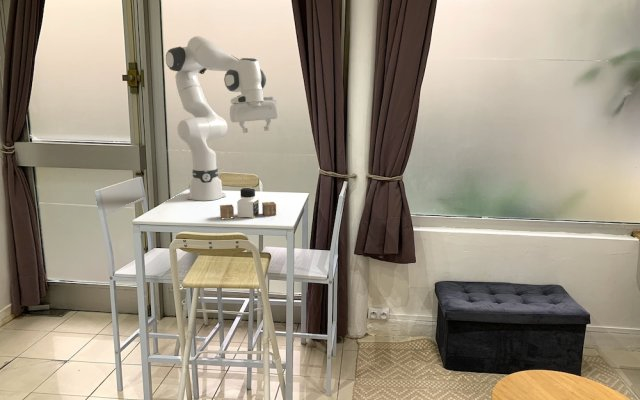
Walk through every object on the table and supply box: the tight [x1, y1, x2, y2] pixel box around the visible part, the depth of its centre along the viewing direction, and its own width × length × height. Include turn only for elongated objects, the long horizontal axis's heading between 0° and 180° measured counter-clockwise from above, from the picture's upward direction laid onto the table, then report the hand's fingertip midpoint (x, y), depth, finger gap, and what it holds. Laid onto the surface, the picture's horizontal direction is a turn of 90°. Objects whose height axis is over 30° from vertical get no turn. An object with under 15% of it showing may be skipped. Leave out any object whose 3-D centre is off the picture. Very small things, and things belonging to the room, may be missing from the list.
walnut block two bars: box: [261, 201, 277, 217], centre depth 230 cm, size 5×5×5 cm
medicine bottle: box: [236, 187, 260, 219], centre depth 227 cm, size 7×7×12 cm
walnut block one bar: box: [219, 204, 235, 219], centre depth 225 cm, size 5×5×5 cm
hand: (256, 131), depth 223 cm, fingers open, 8 cm apart
